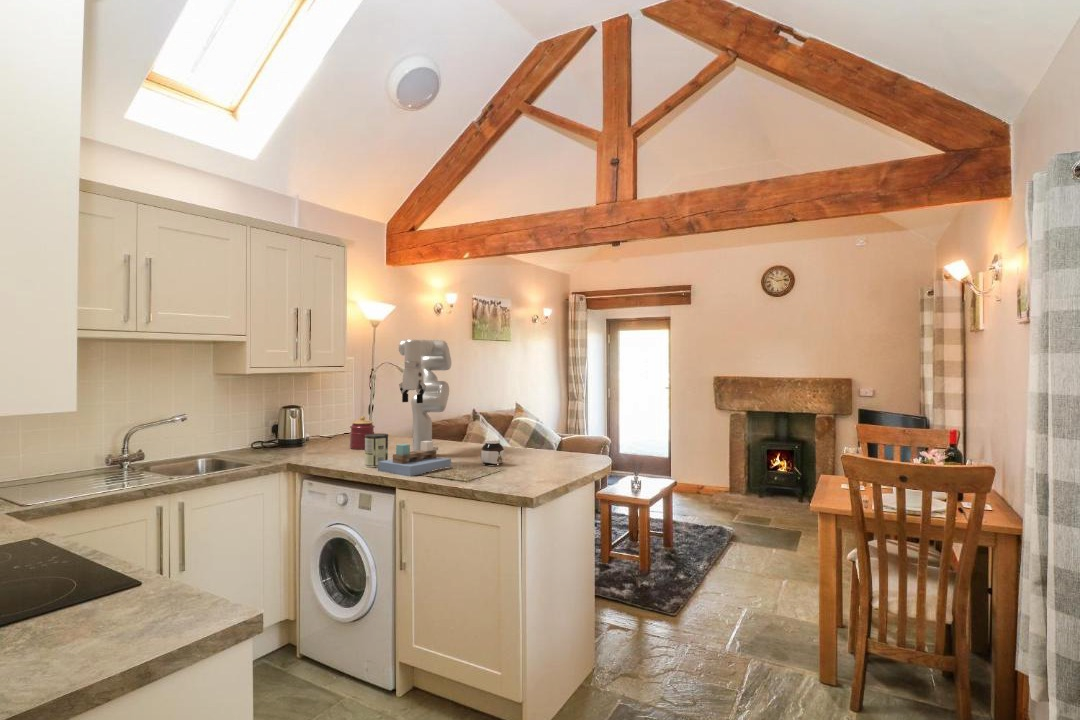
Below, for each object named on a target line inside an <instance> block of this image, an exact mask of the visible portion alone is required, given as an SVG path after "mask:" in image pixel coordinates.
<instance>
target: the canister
mask: <svg viewBox="0 0 1080 720" xmlns="http://www.w3.org/2000/svg"><path fill="white" fill-rule="evenodd" d="M373 423H374V421H372V420H371V419H366V417H365V416H363V415H361V416H360V417H359V419H355V420H353V421H352V422H351V424H352V425H350V426H349V428H350V432H349V435H350V436H349V441H350V443H349V448H350V449H351V448H352V449H351V450H365V435H367V434H376V433H375V431H374V428H375V425H374V424H373Z"/></svg>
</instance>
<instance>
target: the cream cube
mask: <svg viewBox="0 0 1080 720" xmlns="http://www.w3.org/2000/svg"><path fill="white" fill-rule="evenodd" d="M433 447H434V441H433V440H432V441H421V444H420V451H432V450H433Z"/></svg>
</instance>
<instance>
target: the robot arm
mask: <svg viewBox="0 0 1080 720" xmlns="http://www.w3.org/2000/svg"><path fill="white" fill-rule="evenodd" d="M398 352H399V354H400V355H401V356H404V369H403V373H402V381H401V382H400V383H399V384H398V386H399V390H400V393H401V395H402V397H401V398H402V399H401V402H402V403H409V393H408V392H409V391H416V394H413V395H412V397H411V400H410V404H411V405H410V406H411V411H412V451H418V450H420V444H421V441H433V440H432V439H433V421H432V418H431V416H430V415H429V414H428V413H443V412H445V410H446V407H447V404H448V400H449V395H450V386H449V383H448V382H446V381H445V380H439V379H438V377H437V375H436V374H435V373H434V372H433V371H443V372H444V371H445V372H446V371H449V370H450V369H451V367H452V358H451V353H450V348H449V345H448V342H446V341H445V340H443V339H441V340H438V339H437V340H435V339H433V340H432V339H401V341H399V344H398ZM433 450H436V451H438V450H439V447H438V446H433Z"/></svg>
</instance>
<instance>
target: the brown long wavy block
mask: <svg viewBox="0 0 1080 720" xmlns="http://www.w3.org/2000/svg"><path fill="white" fill-rule="evenodd" d="M436 457H437V450H432V451H420V450H418V451H413V450H412V451H411V450H410V454H407V455H398V454H396V453H393V454H392V459H393V463H399V464H405V463H408V460H411V461H422V458H429V459H434V458H436Z"/></svg>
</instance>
